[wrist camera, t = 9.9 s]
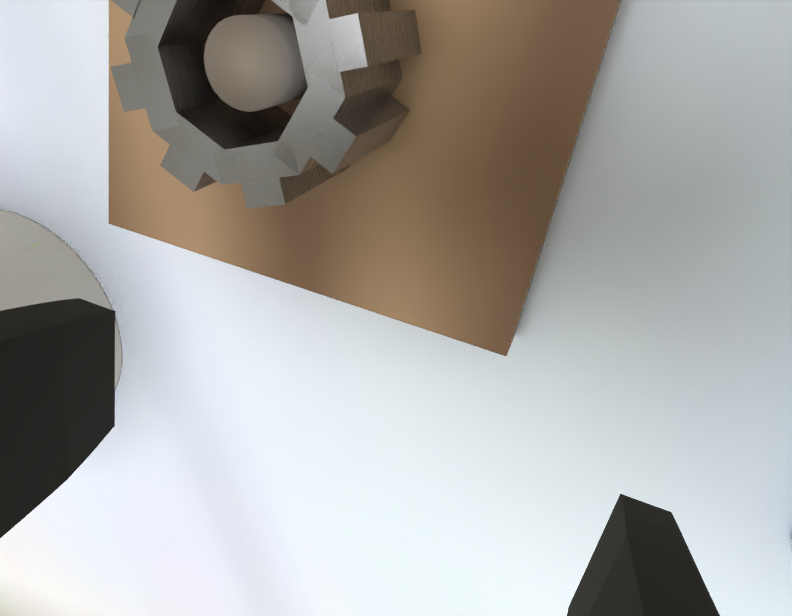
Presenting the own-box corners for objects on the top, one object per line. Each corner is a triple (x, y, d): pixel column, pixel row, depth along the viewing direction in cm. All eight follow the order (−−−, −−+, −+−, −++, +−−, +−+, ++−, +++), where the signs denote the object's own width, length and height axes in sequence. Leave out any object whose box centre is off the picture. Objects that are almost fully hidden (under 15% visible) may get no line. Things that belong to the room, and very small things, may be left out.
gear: (396, -109, 14) (329, -139, 11) (438, 155, 16) (391, 192, 13) (177, -48, 16) (70, -59, 13) (238, 182, 18) (157, 219, 15)
